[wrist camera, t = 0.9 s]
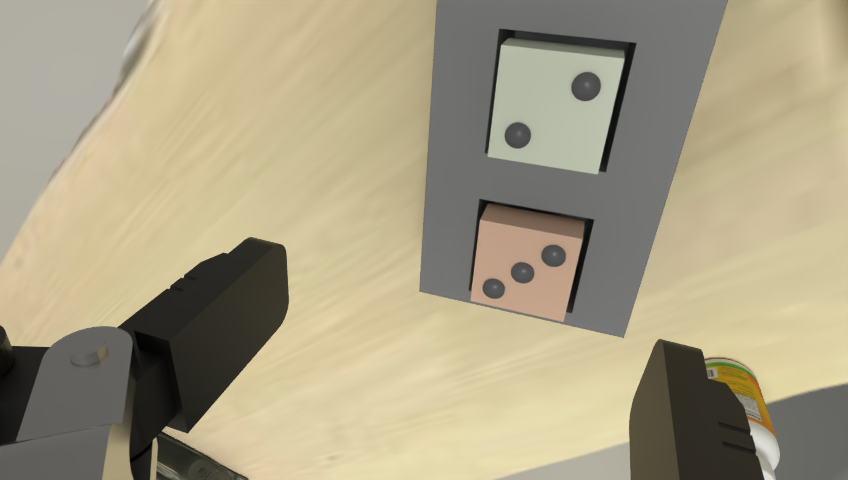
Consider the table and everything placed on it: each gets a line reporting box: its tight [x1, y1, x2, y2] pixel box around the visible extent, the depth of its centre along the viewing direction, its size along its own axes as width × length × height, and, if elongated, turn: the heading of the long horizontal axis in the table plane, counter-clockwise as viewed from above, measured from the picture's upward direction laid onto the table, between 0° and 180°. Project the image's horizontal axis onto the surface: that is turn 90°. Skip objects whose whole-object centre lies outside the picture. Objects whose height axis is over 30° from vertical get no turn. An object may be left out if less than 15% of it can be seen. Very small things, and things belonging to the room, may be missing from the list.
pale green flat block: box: [488, 38, 625, 174], centre depth 29 cm, size 6×6×4 cm
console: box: [419, 0, 728, 338], centre depth 33 cm, size 14×29×7 cm, turn 177°
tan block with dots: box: [470, 203, 585, 322], centre depth 34 cm, size 6×6×4 cm
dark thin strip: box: [156, 432, 247, 480], centre depth 69 cm, size 5×3×15 cm
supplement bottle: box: [705, 359, 780, 480], centre depth 39 cm, size 5×5×10 cm
